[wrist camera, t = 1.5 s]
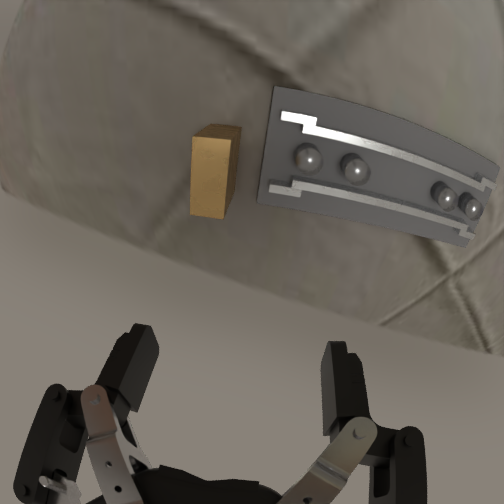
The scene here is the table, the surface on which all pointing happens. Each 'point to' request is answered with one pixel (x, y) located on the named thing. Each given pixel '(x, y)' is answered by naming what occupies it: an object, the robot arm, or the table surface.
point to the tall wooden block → (213, 169)
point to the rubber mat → (381, 164)
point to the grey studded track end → (449, 198)
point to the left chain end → (350, 164)
